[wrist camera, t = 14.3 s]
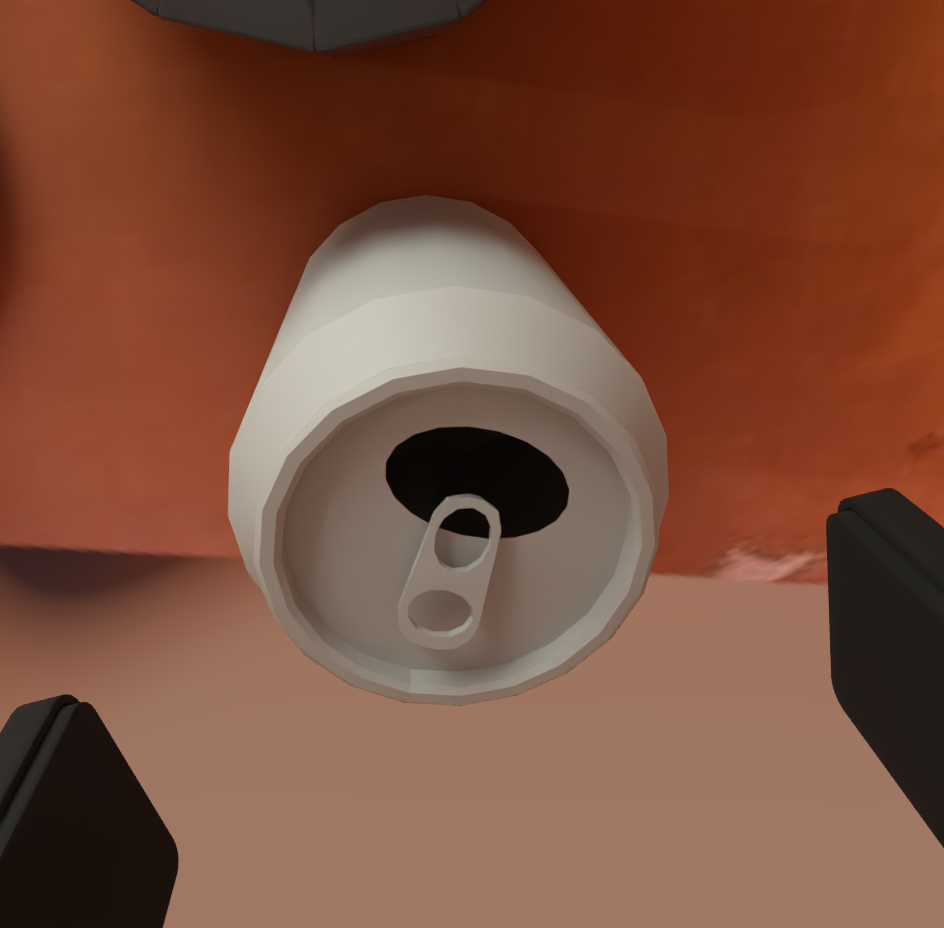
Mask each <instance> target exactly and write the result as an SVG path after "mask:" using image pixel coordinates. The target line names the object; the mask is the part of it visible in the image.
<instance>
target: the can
mask: <svg viewBox="0 0 944 928" xmlns="http://www.w3.org/2000/svg"><path fill="white" fill-rule="evenodd" d="M668 498H669V484H668V459H667V436H666V434H665V431H664V429H663V427H662V424H661V422H660V420H659V417H658V415H657V413H656V410H655V408H654V405H653V403H652V401H651V398H650V396H649V394H648V391H647V389H646V387H645V384H644V382H643V380H642V378H641V376H640V375H639V374H638V373H637V372H636V370H635V369H634V368H633V367H632V366H631V364H630V363H629V362H628V361H627V359H626V358H625V357H624V356H623V355H622V353H621V352H620V351H619V350H618V348H617V347H616V346H615V345H614V344H613V342H612V341H611V340H610V339H609V338H608V336H607V335H606V334H605V333H604V331H603V330H602V329H601V328H600V327H599V325H598V324H597V323H596V322H595V321H594V319H593V318H592V317H591V316H590V314H589V313H588V312H587V311H586V310H585V308H584V307H583V306H582V305H581V303H580V302H579V301H578V300H577V299H576V297H575V296H574V295H573V294H572V293H571V291H570V290H569V289H568V288H567V286H566V285H565V284H564V283H563V282H562V280H561V279H560V278H559V277H558V276H557V274H556V273H555V272H554V271H553V269H552V268H551V267H550V266H549V265H548V263H547V262H546V261H545V260H544V258H543V257H542V256H541V255H540V254H539V253H538V252H537V251H536V250H535V248H534V247H533V246H532V245H531V244H530V243H529V242H528V241H527V240H526V239H525V238H524V237H523V236H522V235H521V234H520V233H519V231H518V230H517V229H516V228H515V227H514V226H513V225H512V224H511V223H510V222H508V221H506V220H504V219H502V218H500V217H498V216H496V215H495V214H493V213H491V212H489V211H487V210H485V209H483V208H481V207H479V206H478V205H476V204H474V203H472V202H469V201H462V200H456V199H450V198H443V197H437V196H431V195H420V196H415V197H409V198H403V199H397V200H392V201H386V202H380V203H378V204H376V205H374V206H373V207H371V208H369V209H367V210H365V211H364V212H362V213H360V214H358V215H356V216H354V217H353V218H351V219H349V220H347V221H345V222H343V223H342V224H340V225H339V226H338V227H337V228H336V229H335V230H334V231H333V233H332V234H331V235H330V236H329V237H328V238H327V239H326V240H325V241H324V242H323V244H322V245H321V246H320V247H319V248H318V249H317V250H316V251H315V252H314V254H313V255H312V256H311V257H310V258H309V261H308V263H307V265H306V268H305V270H304V272H303V275H302V277H301V280H300V282H299V284H298V287H297V289H296V291H295V294H294V296H293V298H292V301H291V303H290V306H289V308H288V311H287V313H286V316H285V318H284V320H283V323H282V325H281V328H280V330H279V333H278V335H277V338H276V340H275V343H274V345H273V347H272V350H271V352H270V355H269V357H268V360H267V362H266V365H265V367H264V369H263V372H262V374H261V377H260V379H259V382H258V384H257V387H256V389H255V391H254V394H253V396H252V399H251V401H250V404H249V406H248V409H247V411H246V413H245V416H244V418H243V421H242V423H241V426H240V428H239V431H238V433H237V435H236V438H235V440H234V443H233V445H232V448H231V450H230V463H229V493H228V517H229V520H230V523H231V526H232V529H233V532H234V535H235V538H236V541H237V543H238V546H239V549H240V552H241V555H242V558H243V561H244V564H245V567H246V569H247V573H248V574H249V575H250V576H251V578H252V579H253V580H254V581H255V583H256V584H257V585H258V586H259V588H260V589H261V590H262V592H263V593H264V595H265V598H266V601H267V604H268V607H269V610H270V613H271V614H272V616H273V617H274V618H275V619H276V621H278V623H279V624H280V625H281V627H282V628H283V629H284V630H285V632H286V633H287V634H288V636H289V637H290V638H291V639H292V641H293V642H294V643H295V644H296V645H297V647H298V648H299V649H300V650H301V652H302V653H303V654H304V655H305V656H306V657H308V658H309V659H311V660H312V661H314V662H315V663H317V664H318V665H320V666H321V667H323V668H324V669H326V670H327V671H329V672H330V673H332V674H334V675H335V676H337V677H338V678H340V679H341V680H343V681H344V682H346V683H347V684H349V685H351V686H353V687H356V688H360V689H363V690H366V691H369V692H373V693H375V694H379V695H382V696H385V697H388V698H391V699H395V700H398V701H401V702H404V703H422V704H440V705H459V706H462V705H467V704H473V703H478V702H483V701H489V700H494V699H499V698H505V697H510V696H516V695H518V694H521V693H523V692H525V691H528V690H530V689H532V688H534V687H537V686H539V685H541V684H543V683H546V682H548V681H550V680H552V679H554V678H557V677H559V676H561V675H563V674H566V673H568V672H569V671H571V670H572V669H573V668H574V667H576V666H577V665H578V664H579V663H581V662H582V661H583V660H584V659H586V658H587V657H588V656H589V655H591V654H592V653H593V652H595V651H596V650H597V649H598V648H599V647H601V646H602V645H603V644H605V643H606V642H607V641H608V640H610V639H611V638H612V637H613V635H614V634H615V633H616V631H617V630H618V628H619V627H620V626H621V624H622V623H623V621H624V620H625V619H626V617H627V616H628V614H629V613H630V611H631V610H632V609H633V607H634V606H635V605H636V603H637V602H638V600H639V599H640V597H641V596H642V595H643V593H644V590H645V587H646V584H647V580H648V577H649V574H650V571H651V568H652V565H653V561H654V558H655V555H656V552H657V549H658V545H659V527H660V524H661V521H662V517H663V514H664V511H665V508H666V505H667V501H668Z"/></svg>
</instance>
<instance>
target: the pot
mask: <svg viewBox="0 0 944 928" xmlns="http://www.w3.org/2000/svg"><path fill="white" fill-rule="evenodd" d="M132 1H133V2H135V3H136V4H138V5H139V6H140V7H142V8H143V9H145V10H146V11H148V12H149V13H151V14H152V15H155V16H159V17H160V18H161V19H164V20H169V21H173V22H178V23H182V24H187V25H191V26H196V27H200V28H205V29H209V30H214V31H218V32H223V33H227V34H232V35H236V36H241V37H245V38H250V39H254V40H259V41H263V42H268V43H272V44H277V45H281V46H286V47H291V48H295V49H300V50H304V51H309V52H313V53H318V54H322V55H327V56H331V57H345V56H350V55H354V54H359V53H363V52H368V51H372V50H377V49H381V48H388V47H391V46H395V45H399V44H403V43H408V42H412V41H417V40H421V39H426V38H430V37H434V36H436V35H437V34H440V33H442V32H444V31H445V30H447V29H448V28H450V27H451V26H453V25H454V24H456V23H457V22H459V21H461V20H462V19H464V18H465V17H467V16H468V15H469V14H471V13H472V12H473V11H475V10H476V9H477V8H479V7H480V6H481V5H482V4H484V3H485V2H486V1H488V0H132Z"/></svg>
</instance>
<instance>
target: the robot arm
mask: <svg viewBox="0 0 944 928" xmlns="http://www.w3.org/2000/svg"><path fill="white" fill-rule="evenodd" d="M826 533H827V563H828V593H829V621H830V622H829V624H830V654H831V678H832V685H833V689H834V692H835V694H836V697H837V699H838V701H839V703H840V705H841V707H842V708H843V710H844V711H845V713H846V714H847V715H848V717H849V718H850V719H851V721H852V722H853V724H854V725H855V726H856V728H857V729H858V730H859V732H860V733H861V734H862V736H863V737H864V739H865V740H866V741H867V743H868V744H869V746H870V747H871V748H872V750H873V751H874V752H875V754H876V755H877V757H878V758H879V759H880V761H881V762H882V763H883V765H884V766H885V768H886V769H887V770H888V772H889V773H890V775H891V776H892V777H893V779H894V780H895V781H896V783H897V784H898V786H899V787H900V788H901V790H902V791H903V792H904V794H905V795H906V797H907V798H908V799H909V801H910V802H911V803H912V805H913V806H914V808H915V809H916V810H917V812H918V813H919V814H920V815H921V817H922V818H923V820H924V821H925V823H926V824H927V825H928V827H929V828H930V830H931V831H932V832H933V834H934V835H935V837H936V838H937V839H938V841H939V842H940V843H941V845H942V846H943V848H944V528H943V527H942V526H941V525H940V524H938V523H937V522H936V521H935V520H933V519H932V518H931V517H930V516H928V515H927V514H926V513H925V512H923V511H922V510H921V509H920V508H918V507H917V506H916V505H915V504H913V503H912V502H911V501H910V500H908V499H907V498H906V497H905V496H903V495H902V494H901V493H900V492H898V491H896V490H895V489H893V488H885V489H881V490H877V491H873V492H869V493H865V494H861V495H857V496H853V497H849V498H846V499H843V500H842V501H841V502H840V504H839V506H838V513H835V514H831V515H830V516H828V519H827V524H826ZM177 871H178V851H177V847H176V844H175V842H174V839H173V838H172V836H171V834H170V833H169V831H168V829H167V828H166V826H165V824H164V823H163V821H162V820H161V818H160V816H159V815H158V813H157V811H156V810H155V808H154V806H153V805H152V803H151V802H150V800H149V798H148V796H147V795H146V793H145V791H144V790H143V788H142V786H141V785H140V783H139V781H138V780H137V778H136V776H135V775H134V773H133V772H132V770H131V768H130V766H129V765H128V763H127V761H126V760H125V758H124V757H123V755H122V753H121V752H120V750H119V748H118V747H117V745H116V743H115V742H114V740H113V738H112V737H111V735H110V733H109V732H108V730H107V728H106V727H105V725H104V723H103V722H102V720H101V718H100V717H99V715H98V714H97V712H96V710H95V709H94V708H93V706H92V705H90V704H89V703H87V702H81V703H80V702H79V701H78V699H76V698H75V697H73V696H72V695H60V696H56V697H52V698H48V699H45V700H40V701H37V702H32V703H29V704H24V705H22V706H20V707H18V708H17V709H16V710H15V711H14V712H13V713H12V714H11V716H10V718H9V719H8V721H7V723H6V724H5V726H4V728H3V729H2V731H1V733H0V928H163V924H164V921H165V917H166V913H167V909H168V906H169V902H170V898H171V895H172V891H173V887H174V883H175V879H176V876H177Z"/></svg>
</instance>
